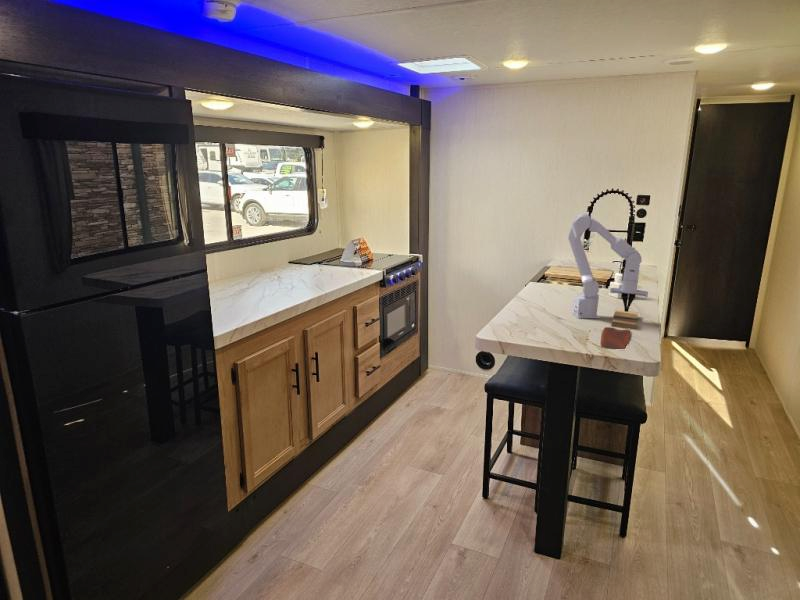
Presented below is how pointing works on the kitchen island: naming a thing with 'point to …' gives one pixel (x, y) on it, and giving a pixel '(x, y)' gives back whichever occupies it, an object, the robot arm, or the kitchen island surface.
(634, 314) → the oak plank
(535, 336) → the kitchen island surface
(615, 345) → the wooden tablet
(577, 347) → the kitchen island surface
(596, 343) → the kitchen island surface
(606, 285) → the kitchen island surface
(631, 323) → the walnut board
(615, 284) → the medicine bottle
